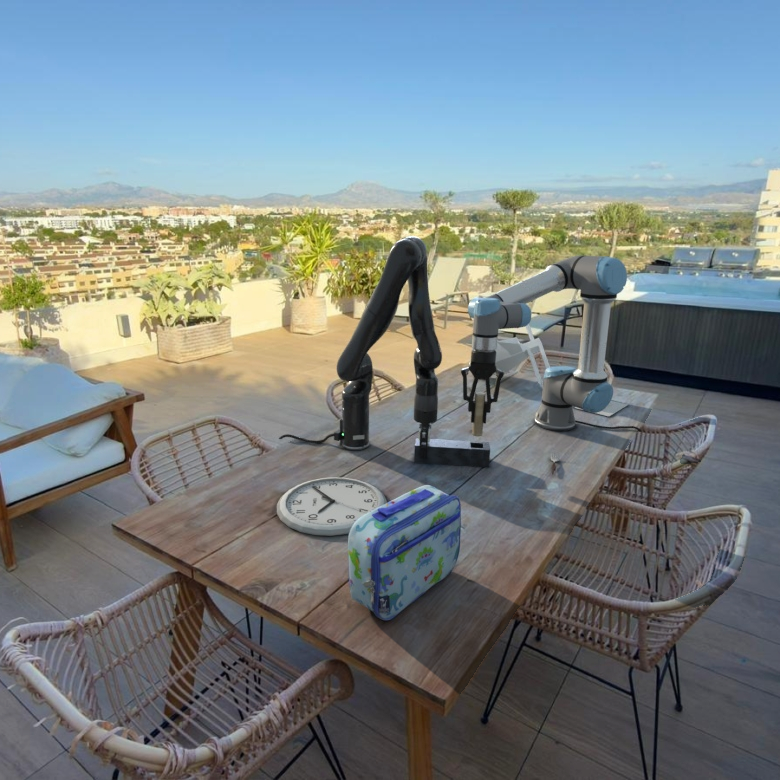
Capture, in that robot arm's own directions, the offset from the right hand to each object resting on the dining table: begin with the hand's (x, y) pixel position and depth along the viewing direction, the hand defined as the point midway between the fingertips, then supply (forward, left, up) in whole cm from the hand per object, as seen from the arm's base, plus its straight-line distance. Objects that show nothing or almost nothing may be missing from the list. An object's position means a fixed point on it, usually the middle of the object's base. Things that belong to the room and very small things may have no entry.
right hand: (478, 421), depth 166 cm
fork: (-25, -1, -14) cm, 29 cm away
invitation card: (-56, -65, -14) cm, 87 cm away
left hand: (+17, 0, -12) cm, 21 cm away
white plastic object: (-19, -94, -14) cm, 97 cm away
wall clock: (+40, +34, -14) cm, 54 cm away
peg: (0, 0, -5) cm, 5 cm away
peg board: (+8, 0, -14) cm, 16 cm away
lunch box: (+17, +66, -14) cm, 69 cm away
